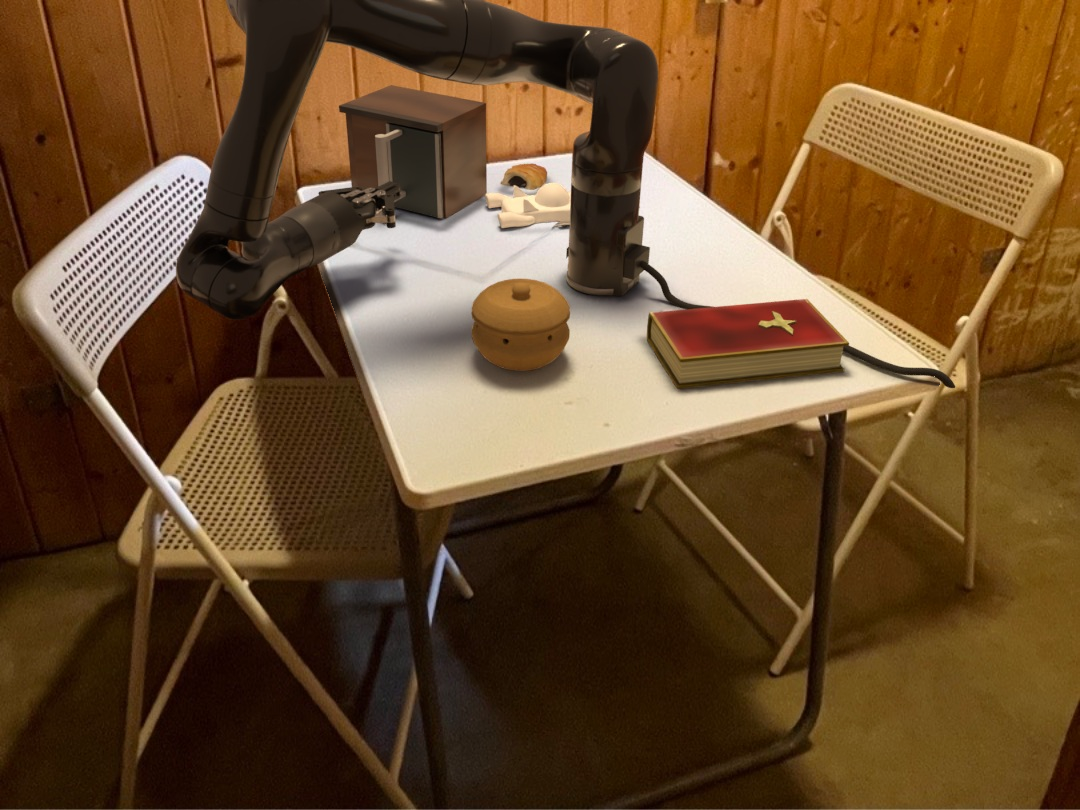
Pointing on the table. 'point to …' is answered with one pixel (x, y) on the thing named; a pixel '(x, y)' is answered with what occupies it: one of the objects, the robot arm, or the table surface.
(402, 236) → the table surface
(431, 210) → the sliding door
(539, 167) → the pastry
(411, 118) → the cupboard
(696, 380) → the hardcover book
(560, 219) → the plane toy
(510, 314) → the pot
